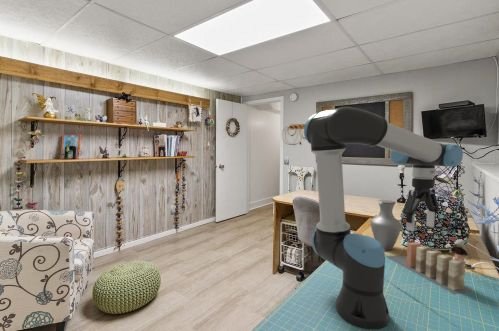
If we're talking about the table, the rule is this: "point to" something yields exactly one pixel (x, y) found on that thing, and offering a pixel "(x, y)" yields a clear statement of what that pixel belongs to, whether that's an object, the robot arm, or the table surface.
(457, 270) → the domino
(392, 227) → the vase
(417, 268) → the domino
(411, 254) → the domino
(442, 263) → the domino
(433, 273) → the domino
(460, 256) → the grandmother figurine
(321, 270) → the table surface
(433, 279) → the domino board
